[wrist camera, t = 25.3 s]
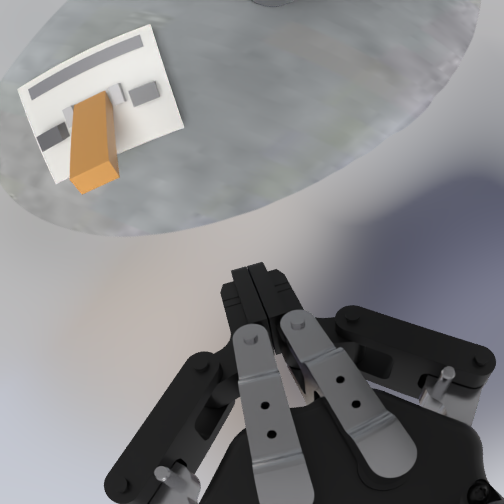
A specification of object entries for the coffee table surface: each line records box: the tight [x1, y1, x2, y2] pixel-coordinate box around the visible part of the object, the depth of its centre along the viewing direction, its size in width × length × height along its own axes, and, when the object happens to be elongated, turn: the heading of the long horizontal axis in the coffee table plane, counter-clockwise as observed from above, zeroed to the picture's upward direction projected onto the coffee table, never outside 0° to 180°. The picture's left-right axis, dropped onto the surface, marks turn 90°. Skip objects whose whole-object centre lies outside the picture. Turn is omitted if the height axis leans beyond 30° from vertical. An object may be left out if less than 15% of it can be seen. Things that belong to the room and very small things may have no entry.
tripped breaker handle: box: [70, 91, 120, 194], centre depth 28 cm, size 4×2×13 cm
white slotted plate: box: [18, 24, 184, 184], centre depth 32 cm, size 18×14×8 cm
